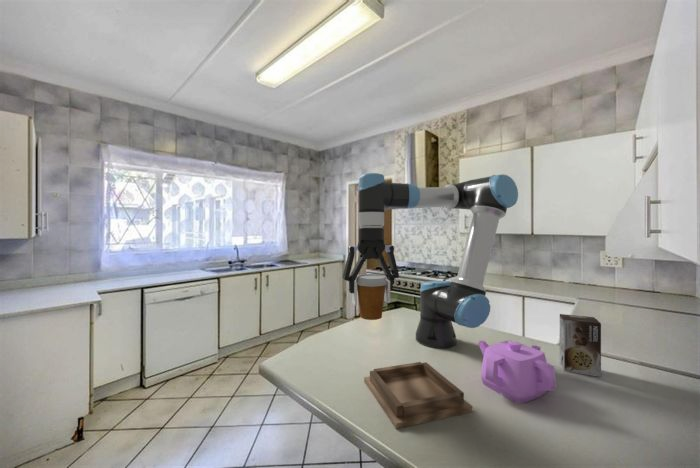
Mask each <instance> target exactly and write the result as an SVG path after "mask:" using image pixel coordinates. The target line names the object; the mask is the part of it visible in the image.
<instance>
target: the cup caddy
mask: <svg viewBox="0 0 700 468" xmlns="http://www.w3.org/2000/svg"><path fill="white" fill-rule="evenodd" d="M363 378H364V379H363V382H364V384H365V385H366V386H367V388H368V390H369V391H370V392H371V394H372V395H373V397H374V399H375V400H376V402H377V403H378V404H379V406H380V407H381V408H382V409H381V410H383V411H384V413H385V415H386V416H387V418H388V419H389V421H390V422H391V424H392V425H393V426H394V429H396V430H397V429H401V428H406V427H411V426H414V425H415V426H416V425H420V424H424V423H428V422H432V421H437V420H442V419H446V418H450V417H455V416H458V415H462V414H467V413H472V412H473V406H472V405H471V404H470V403H469V402H467V401H466V400H465V392H464V391H462V390H461V389H460V388H458V387H457V386H456V385H455V384H454V383H453V382H451V381H450V380H449V379H447V377H445V376H444V375H443V374H441V373H440V372H439V371H438V370H436V369H435V368H434V367H432V366H431V365H430V364H429V362H421V361H417V362H411V363H404V364H399V365H398V364H397V365H390V366H385V367H378V368H374V369H373V370H370V371H369V376H364V377H363Z"/></svg>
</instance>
